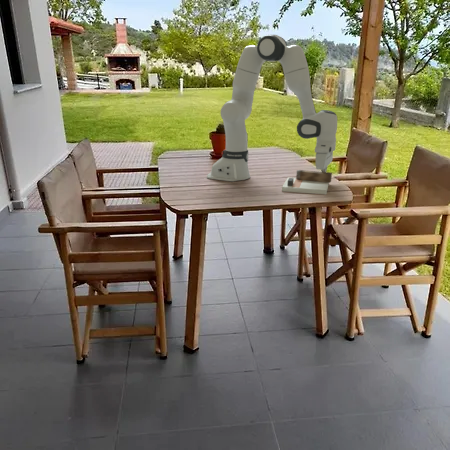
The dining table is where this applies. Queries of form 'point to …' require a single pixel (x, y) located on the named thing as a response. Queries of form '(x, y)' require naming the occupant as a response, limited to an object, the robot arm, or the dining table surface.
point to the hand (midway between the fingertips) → (323, 174)
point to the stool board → (305, 186)
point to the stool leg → (313, 176)
